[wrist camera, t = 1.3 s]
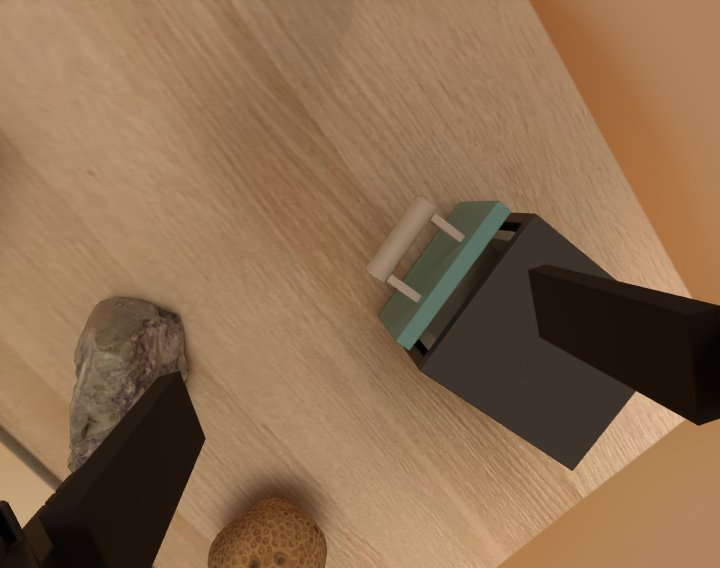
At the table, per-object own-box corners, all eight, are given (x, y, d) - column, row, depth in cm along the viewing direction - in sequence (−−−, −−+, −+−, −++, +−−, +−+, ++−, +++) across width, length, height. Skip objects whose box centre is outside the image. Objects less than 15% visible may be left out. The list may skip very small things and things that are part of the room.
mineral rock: (130, 469, 35) (63, 572, 25) (19, 388, 32) (-104, 468, 23) (238, 363, 34) (212, 426, 24) (133, 273, 32) (58, 303, 22)
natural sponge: (344, 521, 38) (358, 628, 29) (264, 574, 38) (250, 700, 29) (288, 450, 36) (283, 540, 27) (203, 506, 36) (167, 617, 27)
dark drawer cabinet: (391, 331, 36) (419, 370, 27) (479, 211, 35) (535, 213, 26) (514, 414, 39) (572, 471, 30) (597, 305, 38) (681, 334, 29)
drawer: (335, 286, 33) (343, 306, 27) (418, 169, 32) (448, 159, 26) (497, 396, 37) (539, 437, 30) (575, 293, 36) (636, 312, 30)
